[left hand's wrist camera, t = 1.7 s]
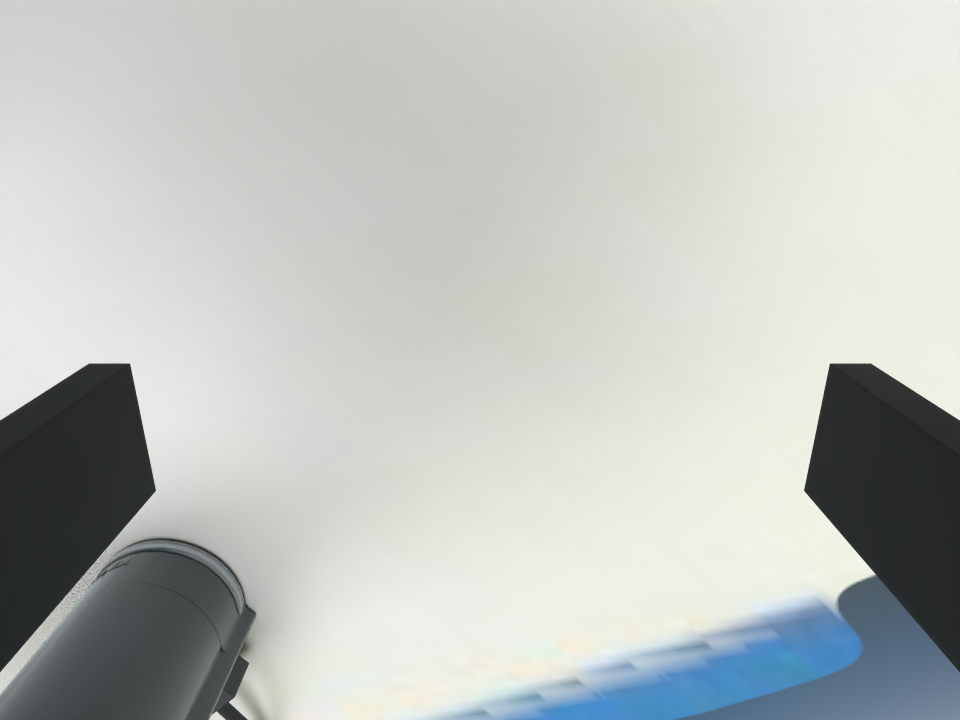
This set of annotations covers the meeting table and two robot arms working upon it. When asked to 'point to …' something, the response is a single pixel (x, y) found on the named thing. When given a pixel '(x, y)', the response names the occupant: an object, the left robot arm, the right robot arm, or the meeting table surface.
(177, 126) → the meeting table surface
